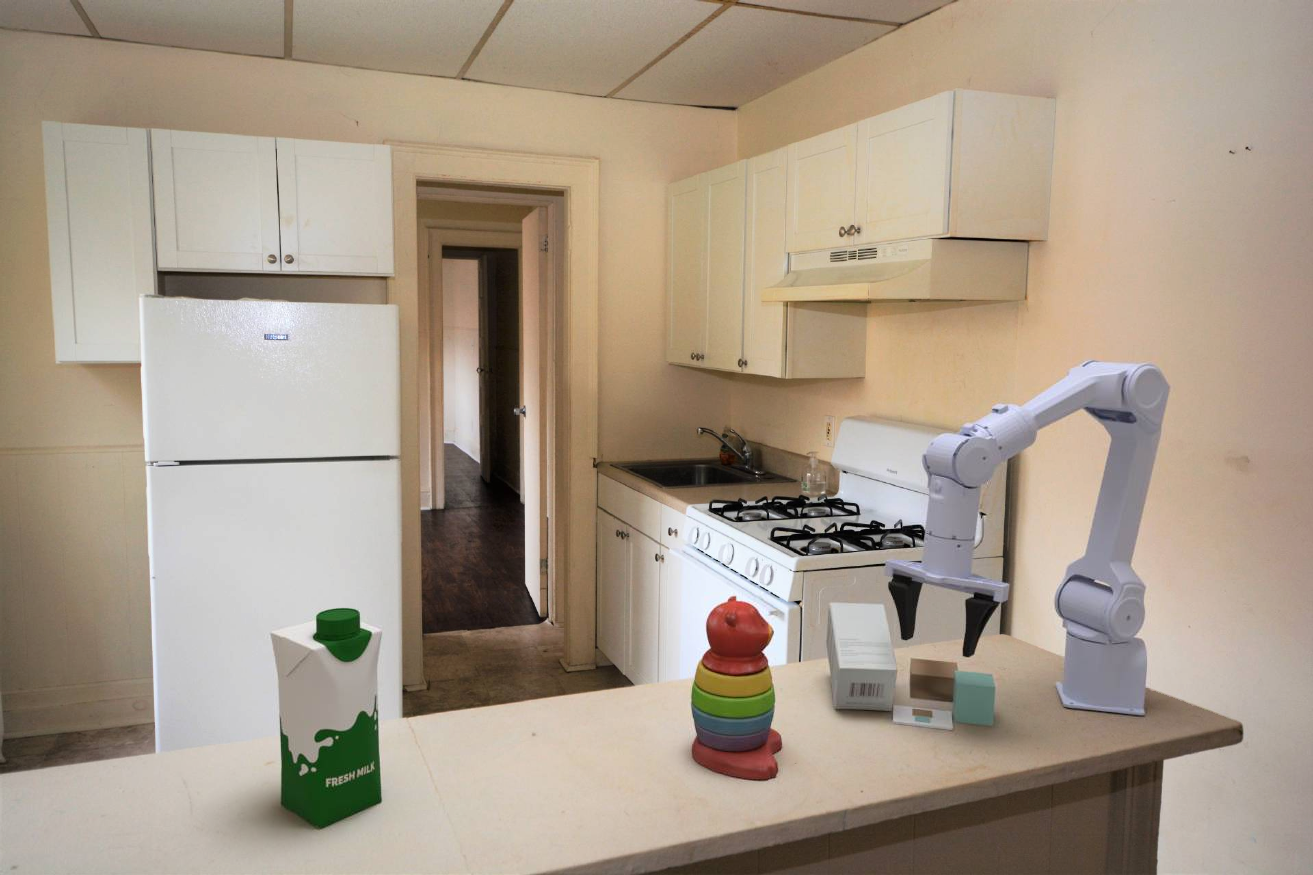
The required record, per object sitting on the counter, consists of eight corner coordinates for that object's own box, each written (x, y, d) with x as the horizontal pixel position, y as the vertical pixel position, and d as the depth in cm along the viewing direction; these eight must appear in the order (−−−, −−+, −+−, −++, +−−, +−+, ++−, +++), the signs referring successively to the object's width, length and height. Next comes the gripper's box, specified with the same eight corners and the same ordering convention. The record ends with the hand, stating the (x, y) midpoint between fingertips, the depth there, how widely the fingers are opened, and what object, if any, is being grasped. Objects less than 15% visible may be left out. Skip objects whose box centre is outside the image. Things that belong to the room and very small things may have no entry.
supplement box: (892, 713, 119) (879, 643, 129) (898, 669, 115) (884, 601, 126) (833, 711, 119) (825, 641, 130) (837, 667, 115) (828, 600, 126)
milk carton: (316, 836, 88) (309, 630, 86) (266, 804, 94) (258, 610, 92) (395, 801, 95) (391, 608, 93) (344, 773, 101) (339, 591, 98)
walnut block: (955, 687, 128) (956, 662, 127) (958, 704, 122) (959, 678, 122) (909, 682, 129) (910, 658, 129) (910, 699, 123) (911, 673, 123)
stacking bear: (776, 782, 100) (781, 620, 98) (682, 772, 102) (685, 613, 100) (783, 739, 111) (787, 591, 108) (698, 730, 113) (700, 585, 110)
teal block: (989, 712, 119) (992, 674, 119) (993, 726, 115) (995, 687, 114) (952, 707, 120) (954, 670, 120) (954, 722, 116) (956, 683, 116)
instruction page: (951, 713, 118) (951, 710, 118) (952, 730, 114) (952, 727, 113) (893, 707, 120) (893, 704, 120) (892, 723, 115) (892, 720, 115)
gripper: (878, 527, 113) (866, 637, 114) (999, 551, 104) (985, 670, 106) (903, 521, 119) (891, 627, 120) (1020, 544, 110) (1006, 657, 111)
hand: (937, 646), depth 113 cm, fingers open, 7 cm apart
